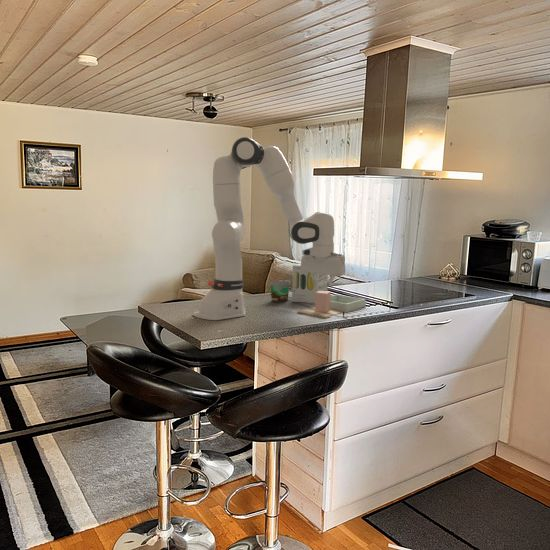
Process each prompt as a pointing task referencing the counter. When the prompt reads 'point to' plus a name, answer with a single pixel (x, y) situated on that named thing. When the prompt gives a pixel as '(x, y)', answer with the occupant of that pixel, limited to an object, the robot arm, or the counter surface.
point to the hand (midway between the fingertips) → (322, 284)
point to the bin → (346, 303)
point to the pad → (319, 313)
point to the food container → (280, 290)
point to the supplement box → (306, 285)
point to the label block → (322, 301)
